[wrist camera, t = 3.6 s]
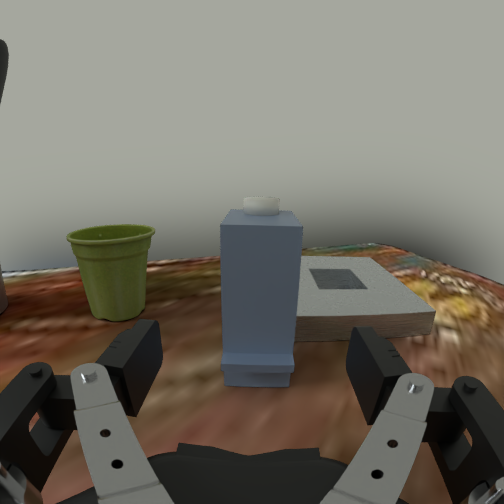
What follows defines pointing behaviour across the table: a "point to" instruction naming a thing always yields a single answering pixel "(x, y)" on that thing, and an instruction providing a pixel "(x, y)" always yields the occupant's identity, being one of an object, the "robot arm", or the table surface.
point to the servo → (259, 293)
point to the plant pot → (113, 268)
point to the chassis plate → (355, 301)
